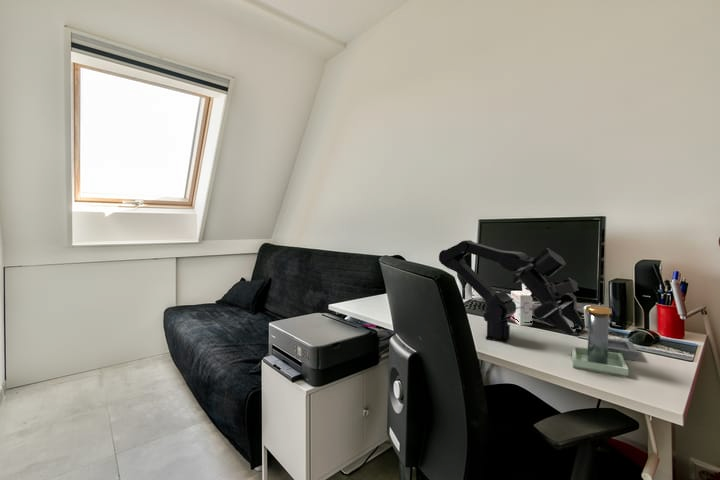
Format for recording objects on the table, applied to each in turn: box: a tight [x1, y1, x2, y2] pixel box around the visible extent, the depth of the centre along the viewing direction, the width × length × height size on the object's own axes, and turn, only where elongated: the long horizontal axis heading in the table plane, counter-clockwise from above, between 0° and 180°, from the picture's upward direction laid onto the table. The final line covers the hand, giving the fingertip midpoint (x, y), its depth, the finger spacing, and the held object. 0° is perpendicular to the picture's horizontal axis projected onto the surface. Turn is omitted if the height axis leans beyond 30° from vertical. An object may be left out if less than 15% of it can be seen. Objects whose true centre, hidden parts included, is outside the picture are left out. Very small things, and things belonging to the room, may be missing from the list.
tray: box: [571, 345, 629, 379], centre depth 91 cm, size 12×12×2 cm
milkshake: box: [583, 302, 601, 332], centre depth 119 cm, size 4×5×10 cm
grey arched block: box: [532, 301, 582, 333], centre depth 126 cm, size 17×5×10 cm, turn 26°
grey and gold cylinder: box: [585, 305, 613, 365], centre depth 90 cm, size 6×6×15 cm
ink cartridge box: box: [510, 283, 534, 326], centre depth 130 cm, size 9×5×15 cm, turn 179°
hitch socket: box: [608, 338, 639, 362], centre depth 99 cm, size 10×10×2 cm
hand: (577, 330), depth 94 cm, fingers open, 9 cm apart
